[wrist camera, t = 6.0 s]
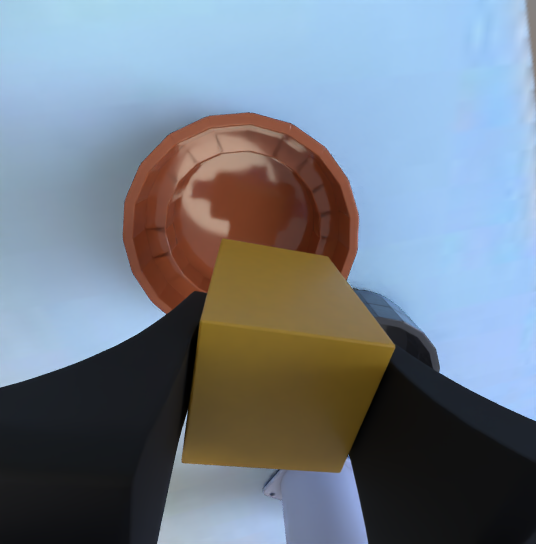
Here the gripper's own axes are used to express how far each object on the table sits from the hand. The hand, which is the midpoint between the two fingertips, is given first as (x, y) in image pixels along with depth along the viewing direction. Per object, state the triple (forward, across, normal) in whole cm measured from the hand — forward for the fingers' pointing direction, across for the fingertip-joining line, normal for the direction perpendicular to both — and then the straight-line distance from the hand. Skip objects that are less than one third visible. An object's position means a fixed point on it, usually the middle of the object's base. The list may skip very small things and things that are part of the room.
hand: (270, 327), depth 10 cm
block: (+2, 0, 0) cm, 2 cm away
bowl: (+10, +1, -1) cm, 10 cm away
